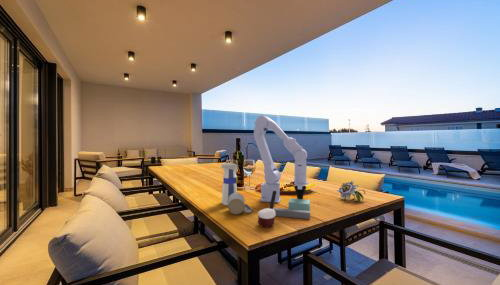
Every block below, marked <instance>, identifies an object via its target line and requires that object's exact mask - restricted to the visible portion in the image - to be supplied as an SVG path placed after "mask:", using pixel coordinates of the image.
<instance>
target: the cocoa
mask: <svg viewBox="0 0 500 285" xmlns="http://www.w3.org/2000/svg"><path fill="white" fill-rule="evenodd" d="M275 196H276V191H273V193H272V198H271V202H269V206H268V208H263V209H261V210H259V211H258V213H257V216H258V217H257V219H258V221H257V224H258V225H259V226H261V227H263V228H270V227H272V226H273V225H274V223H275V221H276V216H275V215H276V213H275V210H274V209H273V208H274V205H275V202H274V201H275Z"/></svg>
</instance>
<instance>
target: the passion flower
mask: <svg viewBox="0 0 500 285" xmlns="http://www.w3.org/2000/svg"><path fill="white" fill-rule="evenodd" d="M357 188H359V184H355V185H354V180H351V181H348V182H343V183H341V186H340V187H339V189H338V190H336V192H337V193H340V198H342V200H343V201H344V200H346V199H347V200H350V198H351V196H353V197H354V199H357V200H356V201H357V202H359V203H361V199H362V201H364V196H363V194H365V195H366V191H365V189H360V190H358V189H357ZM360 191H363V194H362V193H361V192H360Z"/></svg>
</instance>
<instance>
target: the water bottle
mask: <svg viewBox="0 0 500 285" xmlns="http://www.w3.org/2000/svg"><path fill="white" fill-rule="evenodd" d="M236 156H237V158H239V153H238V152H237V154H236ZM221 168H222V169H223V174H222V178H223V180H222V185H221V186H222V188H221V189H222V190H221V191H222V192H221V193H222V194H221V204H222V205H224V206H228V197H229V196H230V195H231V194H233V193H238V191H237V190H238V189H237V188H238V186H237V184H238V175H237V173H236V172H237V168H238V164H236V163H234V162H233V163H232V162H231V163H230V162H228V163H227V162H224V163H222V164H221Z"/></svg>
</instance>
